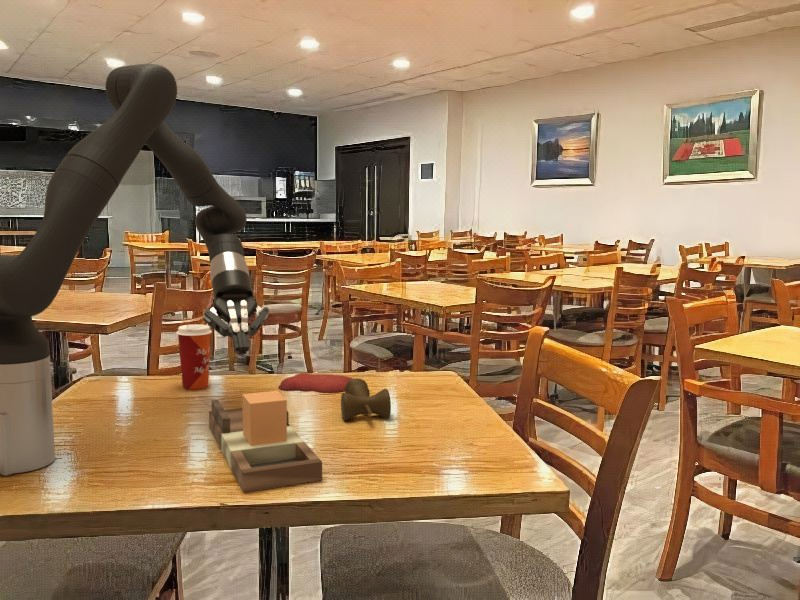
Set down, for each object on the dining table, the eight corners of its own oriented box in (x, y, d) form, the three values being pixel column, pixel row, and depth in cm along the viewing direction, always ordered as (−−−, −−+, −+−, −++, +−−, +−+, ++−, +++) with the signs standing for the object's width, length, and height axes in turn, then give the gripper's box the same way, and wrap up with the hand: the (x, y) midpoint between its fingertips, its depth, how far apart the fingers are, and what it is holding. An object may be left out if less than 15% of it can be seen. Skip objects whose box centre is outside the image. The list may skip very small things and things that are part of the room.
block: (242, 434, 115) (242, 394, 114) (277, 429, 118) (277, 390, 117) (250, 445, 110) (250, 403, 109) (286, 440, 112) (286, 400, 111)
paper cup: (207, 391, 152) (205, 330, 150) (173, 390, 152) (171, 329, 150) (217, 382, 159) (216, 324, 158) (184, 381, 160) (183, 323, 158)
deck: (209, 426, 128) (208, 398, 127) (272, 419, 133) (271, 392, 132) (243, 492, 99) (242, 456, 98) (322, 480, 104) (322, 446, 103)
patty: (272, 392, 154) (272, 383, 154) (290, 377, 168) (290, 369, 167) (347, 397, 152) (347, 388, 151) (360, 381, 165) (360, 373, 165)
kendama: (378, 400, 149) (395, 427, 130) (334, 403, 147) (345, 431, 128) (377, 374, 149) (395, 396, 129) (333, 376, 147) (345, 400, 127)
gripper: (198, 268, 130) (208, 342, 121) (266, 267, 136) (281, 338, 126) (195, 292, 136) (204, 365, 126) (260, 291, 141) (274, 360, 132)
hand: (243, 351), depth 126 cm, fingers closed
